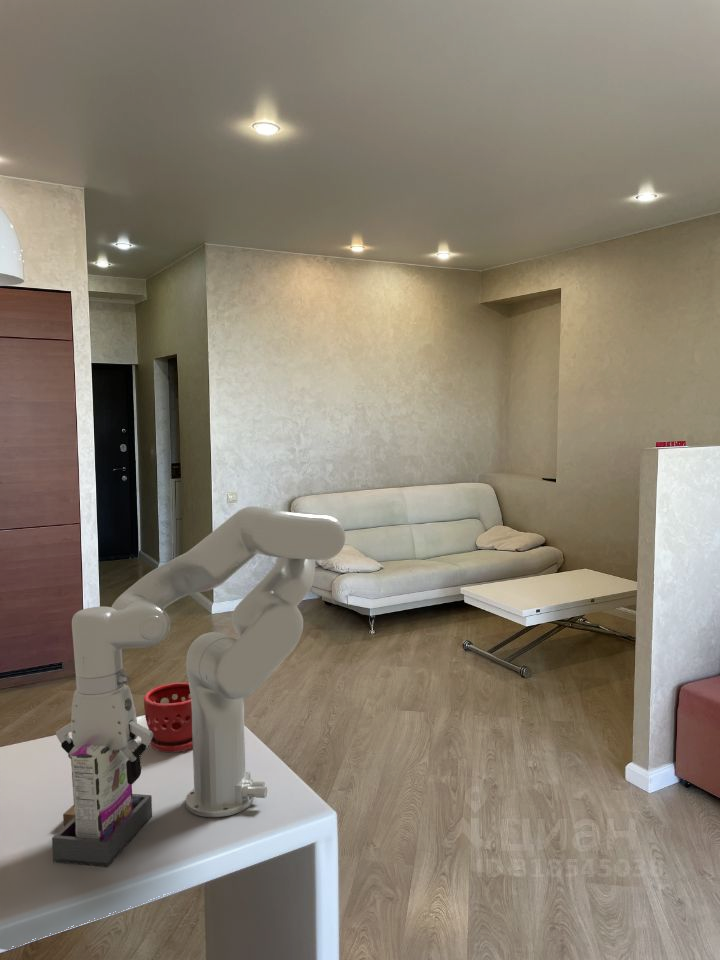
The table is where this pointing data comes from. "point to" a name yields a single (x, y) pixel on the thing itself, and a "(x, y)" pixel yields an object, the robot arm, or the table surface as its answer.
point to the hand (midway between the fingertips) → (107, 779)
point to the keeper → (101, 850)
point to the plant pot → (169, 717)
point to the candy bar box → (100, 790)
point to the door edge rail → (68, 815)
